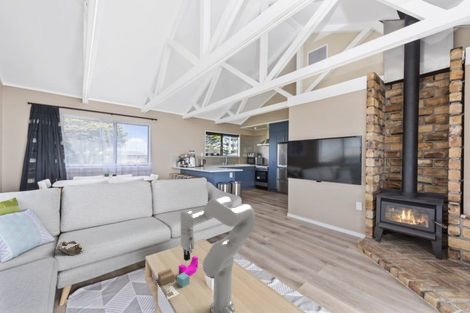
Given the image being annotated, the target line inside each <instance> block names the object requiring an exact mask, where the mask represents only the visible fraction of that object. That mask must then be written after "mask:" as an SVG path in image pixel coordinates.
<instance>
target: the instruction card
mask: <svg viewBox="0 0 470 313" xmlns="http://www.w3.org/2000/svg"><path fill="white" fill-rule="evenodd" d="M169 286H170V288H171V290H168V291H167V290H166V289H165V293H166V299H167V300H169V299H171V298H173V297H176V296H178V295H180V293H179V292H178V291H177V289H175V287H174V286H173V285H169ZM170 288H169V289H170ZM169 291H170V292H169ZM167 292H169V293H167Z"/></svg>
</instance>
